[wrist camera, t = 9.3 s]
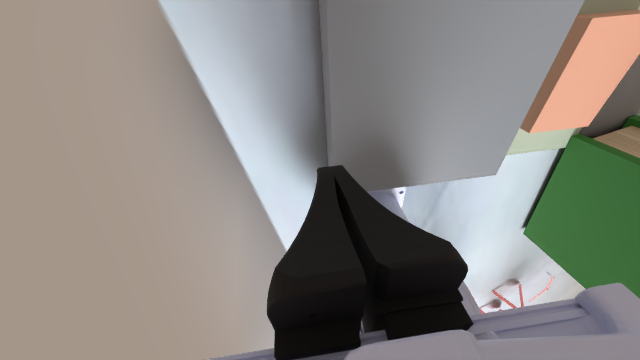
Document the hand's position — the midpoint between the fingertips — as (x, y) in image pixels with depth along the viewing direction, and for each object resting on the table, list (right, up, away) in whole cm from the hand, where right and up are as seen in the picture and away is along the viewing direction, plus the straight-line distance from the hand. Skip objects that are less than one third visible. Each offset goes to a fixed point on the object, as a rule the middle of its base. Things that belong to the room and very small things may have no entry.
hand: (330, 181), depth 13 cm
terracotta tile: (+22, +8, +7) cm, 24 cm away
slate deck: (+8, +8, +8) cm, 14 cm away
